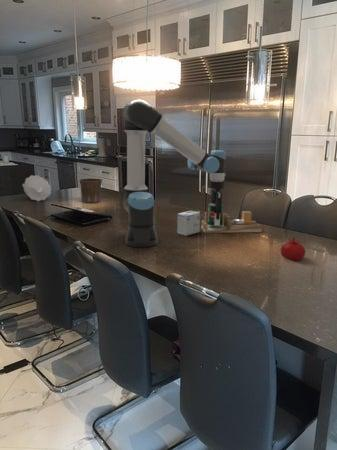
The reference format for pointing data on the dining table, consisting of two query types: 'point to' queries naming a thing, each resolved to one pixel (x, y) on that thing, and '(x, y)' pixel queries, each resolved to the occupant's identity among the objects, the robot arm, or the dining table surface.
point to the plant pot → (90, 190)
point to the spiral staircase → (37, 188)
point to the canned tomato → (212, 215)
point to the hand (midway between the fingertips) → (215, 223)
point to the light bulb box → (188, 223)
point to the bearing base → (230, 226)
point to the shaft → (243, 219)
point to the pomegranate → (293, 250)
